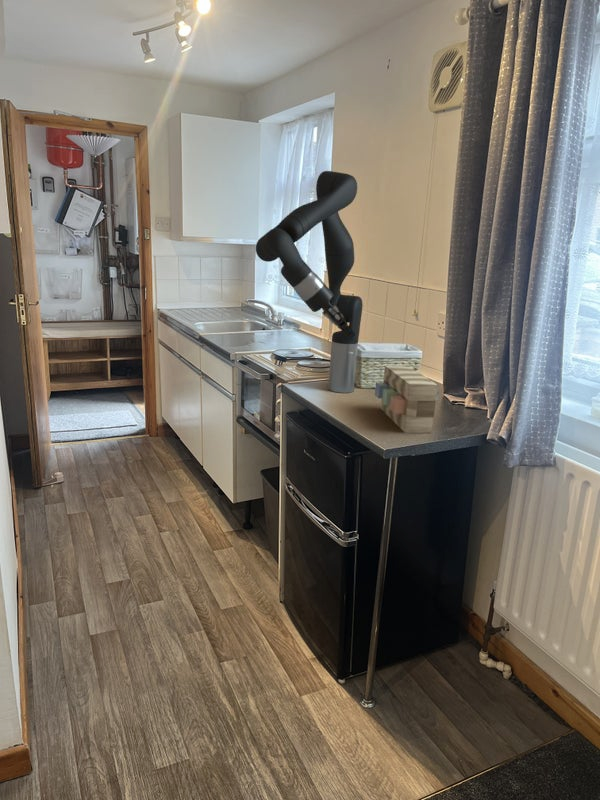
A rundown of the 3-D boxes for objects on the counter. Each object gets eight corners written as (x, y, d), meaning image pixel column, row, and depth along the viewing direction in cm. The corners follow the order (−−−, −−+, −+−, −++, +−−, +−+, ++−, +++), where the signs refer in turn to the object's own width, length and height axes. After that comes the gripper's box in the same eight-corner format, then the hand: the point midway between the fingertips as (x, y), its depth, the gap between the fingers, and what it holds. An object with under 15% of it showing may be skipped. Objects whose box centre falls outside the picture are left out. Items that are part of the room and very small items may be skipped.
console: (380, 408, 188) (385, 365, 184) (404, 408, 189) (409, 366, 185) (404, 432, 165) (409, 384, 161) (431, 432, 166) (437, 384, 162)
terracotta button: (389, 409, 169) (391, 395, 168) (400, 409, 169) (401, 396, 168) (394, 413, 165) (395, 399, 164) (404, 413, 165) (406, 399, 164)
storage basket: (356, 389, 211) (360, 349, 207) (346, 379, 226) (349, 341, 222) (420, 390, 214) (424, 351, 211) (405, 380, 230) (409, 343, 226)
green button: (382, 401, 176) (383, 388, 175) (392, 401, 177) (393, 389, 176) (385, 405, 172) (387, 392, 171) (396, 405, 173) (397, 392, 172)
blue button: (374, 394, 184) (376, 382, 183) (384, 395, 184) (385, 382, 183) (378, 398, 180) (379, 385, 179) (388, 398, 181) (389, 385, 179)
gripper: (327, 283, 156) (368, 331, 161) (318, 279, 168) (356, 324, 173) (306, 302, 156) (347, 349, 161) (299, 297, 169) (337, 341, 174)
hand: (352, 336), depth 167 cm, fingers closed
